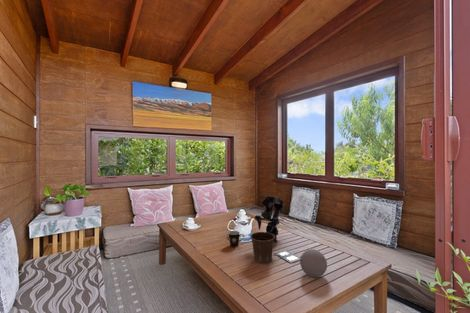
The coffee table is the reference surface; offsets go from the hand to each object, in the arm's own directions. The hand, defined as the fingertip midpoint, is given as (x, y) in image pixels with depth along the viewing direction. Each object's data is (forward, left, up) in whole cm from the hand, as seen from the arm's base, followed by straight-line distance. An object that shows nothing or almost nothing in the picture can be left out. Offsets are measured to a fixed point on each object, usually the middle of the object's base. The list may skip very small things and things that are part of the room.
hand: (264, 230), depth 173 cm
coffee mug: (+16, -17, -14) cm, 27 cm away
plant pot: (+12, +13, -14) cm, 23 cm away
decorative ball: (-1, +45, -14) cm, 47 cm away
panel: (-5, +19, -14) cm, 24 cm away
